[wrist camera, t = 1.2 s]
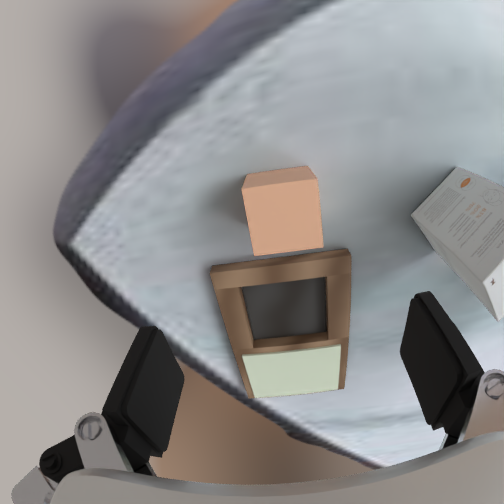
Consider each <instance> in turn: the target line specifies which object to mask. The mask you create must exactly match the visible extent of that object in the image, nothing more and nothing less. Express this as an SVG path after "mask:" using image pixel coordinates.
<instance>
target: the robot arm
mask: <svg viewBox="0 0 504 504" xmlns="http://www.w3.org/2000/svg"><path fill="white" fill-rule="evenodd" d="M400 354H401V358H402V360H403V363H404V365H405V367H406V370H407V372H408V375H409V377H410V380H411V382H412V385H413V387H414V390H415V392H416V395H417V398H418V400H419V403H420V406H421V408H422V411H423V414H424V417H425V420H426V422H427V424H428V425H431V426H432V429H433V430H436V429H439V428H441V427H444V430H445V433H446V434H445V437H444V439H443V442H442V444H441V446H440V449H439V450H438V451H436V452H433V453H430V454H427V455H425V456H422V457H419V458H415V459H412V460H409V461H406V462H403V463H399V464H396V465H392V466H389V467H385V468H381V469H377V470H373V471H369V472H364V473H360V474H355V475H350V476H344V477H339V478H332V479H326V480H318V481H310V482H300V483H288V484H272V485H271V484H269V485H231V484H212V483H200V482H191V481H182V480H175V479H168V478H161V477H157V476H156V474H155V472H154V470H153V469H152V467H151V465H150V463H149V458H150V456H155V457H162V454H163V452H165V451H166V450H167V447H168V444H169V440H170V435H171V431H172V427H173V423H174V419H175V415H176V411H177V407H178V403H179V399H180V396H181V392H182V388H183V384H184V374H183V372H182V370H181V368H180V366H179V364H178V363H177V361H176V359H175V357H174V355H173V353H172V351H171V349H170V347H169V345H168V343H167V341H166V339H165V336H164V334H163V332H162V331H161V330H158V328H157V327H156V326H144V327H141V328H140V329H139V331H138V333H137V335H136V337H135V339H134V341H133V343H132V345H131V347H130V350H129V352H128V354H127V356H126V358H125V360H124V363H123V364H122V366H121V369H120V371H119V373H118V375H117V377H116V379H115V382H114V384H113V386H112V388H111V391H110V393H109V395H108V397H107V400H106V402H105V404H104V407H103V409H102V410H103V411H102V414H99V413H95V412H93V413H92V412H90V413H88V414H85V415H83V416H82V417H81V418H80V419H79V420H78V421H77V423H76V425H75V429H74V433H75V435H73V436H72V437H70V438H68V439H66V440H64V441H62V442H60V443H58V444H57V445H55V446H53V447H51V448H49V449H47V450H46V451H45V452H44V453H43V454H42V455H41V458H40V463H39V465H40V468H39V467H37V466H36V467H35V468H34V469H33V470H31V471H30V472H29V473H28V474H27V475H26V476H25V477H24V478H23V479H22V480H21V481H20V482H19V483H18V484H17V485H16V486H15V487H14V488H13V490H12V500H13V503H14V504H504V372H503V371H501V370H497V369H493V370H489V371H487V372H484V371H483V369H482V367H481V365H480V364H479V362H478V360H477V359H476V357H475V355H474V354H473V352H472V350H471V349H470V347H469V346H468V344H467V342H466V341H465V339H464V338H463V336H462V335H461V333H460V332H459V330H458V328H457V327H456V325H455V324H454V323H453V322H452V321H451V319H450V318H449V316H448V315H447V314H446V312H445V311H444V309H443V308H442V306H441V305H440V304H439V302H438V301H437V299H436V298H435V297H434V295H433V294H432V293H431V292H430V291H427V292H422V293H418V294H415V296H414V298H413V299H411V301H410V307H409V312H408V317H407V322H406V326H405V331H404V335H403V339H402V344H401V348H400Z"/></svg>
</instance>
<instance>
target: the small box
mask: <svg viewBox="0 0 504 504" xmlns="http://www.w3.org/2000/svg"><path fill="white" fill-rule="evenodd" d="M411 216H412V218H413V219H414V221H415V222H416V223H417V225H418V226H419V228H420V229H421V231H422V232H423V233H424V235H425V236H426V238H427V239H428V241H429V243H430V244H431V246H432V247H433V249H434V250H435V252H436V253H437V254H438V255H439V256H440V257H441V258H442V259H443V260H444V261H445V262H446V263H447V264H448V265H449V267H450V268H451V269H452V270H453V271H454V272H455V273H456V274H457V275H458V276H459V277H460V278H461V279H462V280H463V282H464V283H465V284H466V285H467V286H468V287H469V288H470V290H471V291H472V292H473V293H474V294H475V295H476V296H477V298H478V299H479V300H480V301H481V302H482V303H483V305H484V306H485V307H486V308H487V309H488V311H489V312H490V313H491V314H492V315H493V317H494V318H495V319H496V320H497V321H498V322H499V321H500V320H501V319H502V318H503V317H504V187H503V186H500V185H498V184H496V183H494V182H492V181H490V180H488V179H486V178H484V177H481V176H479V175H477V174H474V173H472V172H470V171H467V170H465V169H462V168H460V167H456V168H455V169H454V170H453V171H452V172H451V173H450V174H449V175H448V177H447V178H446V179H445V180H444V181H443V182H442V183H441V184H440V185H439V186H438V187H437V188H436V189H435V190H434V191H433V192H432V193H431V194H430V195H429V197H428V198H427V199H426V200H425V201H424V202H423V203H422V204H421V205H420V206H419V207H418V208H417V209H416V210H415V211H414V212H413V213H412V214H411Z"/></svg>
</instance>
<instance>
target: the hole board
mask: <svg viewBox="0 0 504 504" xmlns="http://www.w3.org/2000/svg"><path fill="white" fill-rule="evenodd" d="M210 276H211V280H212V283H213V287H214V290H215V294H216V297H217V300H218V304H219V307H220V310H221V314H222V317H223V320H224V324H225V327H226V330H227V333H228V337H229V340H230V343H231V346H232V349H233V352H234V355H235V358H236V362H237V365H238V368H239V371H240V374H241V377H242V380H243V383H244V386H245V389H246V391H247V394H248V397H249V398H264V397H279V396H291V395H301V394H310V393H318V392H325V391H332V390H339V389H344V386H345V377H346V367H347V356H348V343H349V327H350V307H351V254H350V252H349V250H348V249H341V250H333V251H325V252H318V253H310V254H302V255H294V256H286V257H278V258H270V259H262V260H254V261H246V262H238V263H230V264H222V265H213V266H212V268H211V271H210ZM324 277H325V279H324ZM325 283H326V306H325ZM241 287H242V288H241ZM242 289H243V292H242ZM243 293H244V297H243ZM244 298H245V301H244ZM245 302H246V305H245ZM246 306H247V309H246ZM247 311H248V314H247ZM248 315H249V318H248ZM326 317H327V332H326ZM249 319H250V322H249ZM250 323H251V326H250ZM251 328H252V330H251ZM252 332H253V335H252ZM253 336H254V339H253ZM267 338H268V339H267Z"/></svg>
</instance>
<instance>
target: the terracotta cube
mask: <svg viewBox="0 0 504 504" xmlns="http://www.w3.org/2000/svg"><path fill="white" fill-rule="evenodd" d="M241 190H242V195H243V200H244V205H245V210H246V216H247V221H248V226H249V231H250V237H251V242H252V247H253V252H254V256H260V255H267V254H275V253H283V252H291V251H299V250H307V249H315V248H323V234H322V221H321V210H320V199H319V189H318V180H317V177H316V176H315V175H314V173H313V172H312V171H311V169H310V168H309V167H308V166H302V167H294V168H286V169H279V170H272V171H265V172H258V173H251V174H247V176H246V178H245V181H244V183H243V186H242V189H241Z"/></svg>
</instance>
